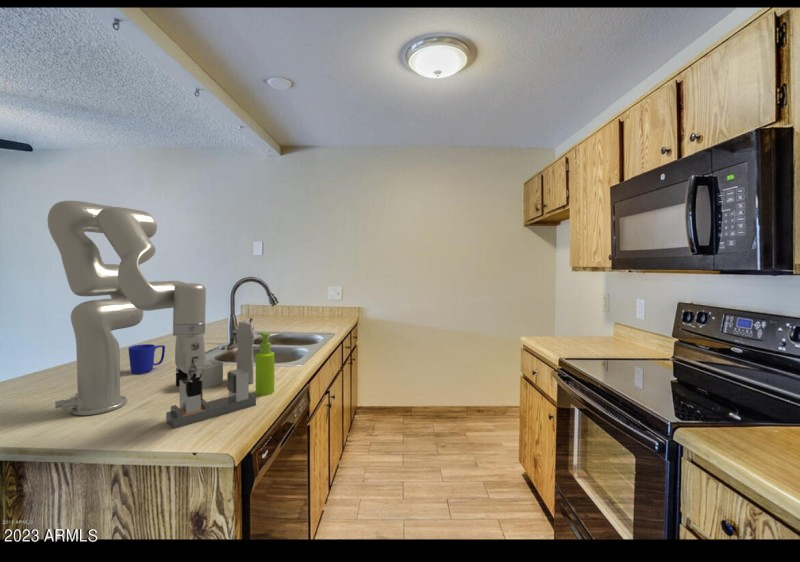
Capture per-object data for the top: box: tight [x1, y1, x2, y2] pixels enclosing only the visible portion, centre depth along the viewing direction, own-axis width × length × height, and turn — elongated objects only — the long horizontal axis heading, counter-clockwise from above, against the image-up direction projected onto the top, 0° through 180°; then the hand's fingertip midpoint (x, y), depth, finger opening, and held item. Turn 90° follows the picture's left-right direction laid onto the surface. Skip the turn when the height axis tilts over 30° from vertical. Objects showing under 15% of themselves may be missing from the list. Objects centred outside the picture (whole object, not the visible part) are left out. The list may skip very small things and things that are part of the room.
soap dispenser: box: [255, 331, 275, 396], centre depth 118 cm, size 6×7×20 cm
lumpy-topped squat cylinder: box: [191, 357, 224, 390], centre depth 124 cm, size 10×13×9 cm
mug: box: [127, 343, 166, 375], centre depth 137 cm, size 8×12×10 cm
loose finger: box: [179, 378, 203, 414], centre depth 97 cm, size 4×6×8 cm
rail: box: [165, 368, 257, 430], centre depth 101 cm, size 22×6×10 cm, turn 137°
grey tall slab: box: [235, 320, 255, 385], centre depth 128 cm, size 11×4×22 cm, turn 55°
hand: (188, 390), depth 96 cm, fingers open, 9 cm apart
